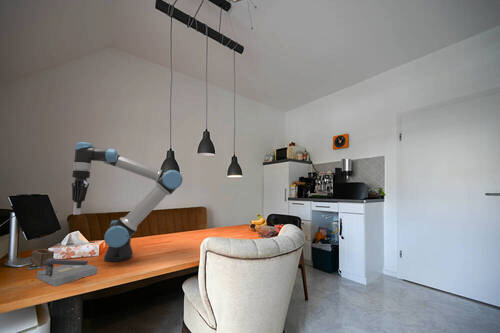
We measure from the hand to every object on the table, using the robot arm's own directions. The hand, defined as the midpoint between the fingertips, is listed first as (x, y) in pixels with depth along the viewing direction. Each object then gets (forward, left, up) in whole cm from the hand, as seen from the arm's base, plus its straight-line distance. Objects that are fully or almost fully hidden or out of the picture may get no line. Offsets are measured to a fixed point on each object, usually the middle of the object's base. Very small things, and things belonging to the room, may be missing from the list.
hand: (76, 214), depth 115 cm
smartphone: (+4, -22, -29) cm, 37 cm away
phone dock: (+4, -22, -28) cm, 36 cm away
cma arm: (+9, +15, -21) cm, 27 cm away
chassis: (+5, +8, -28) cm, 30 cm away
